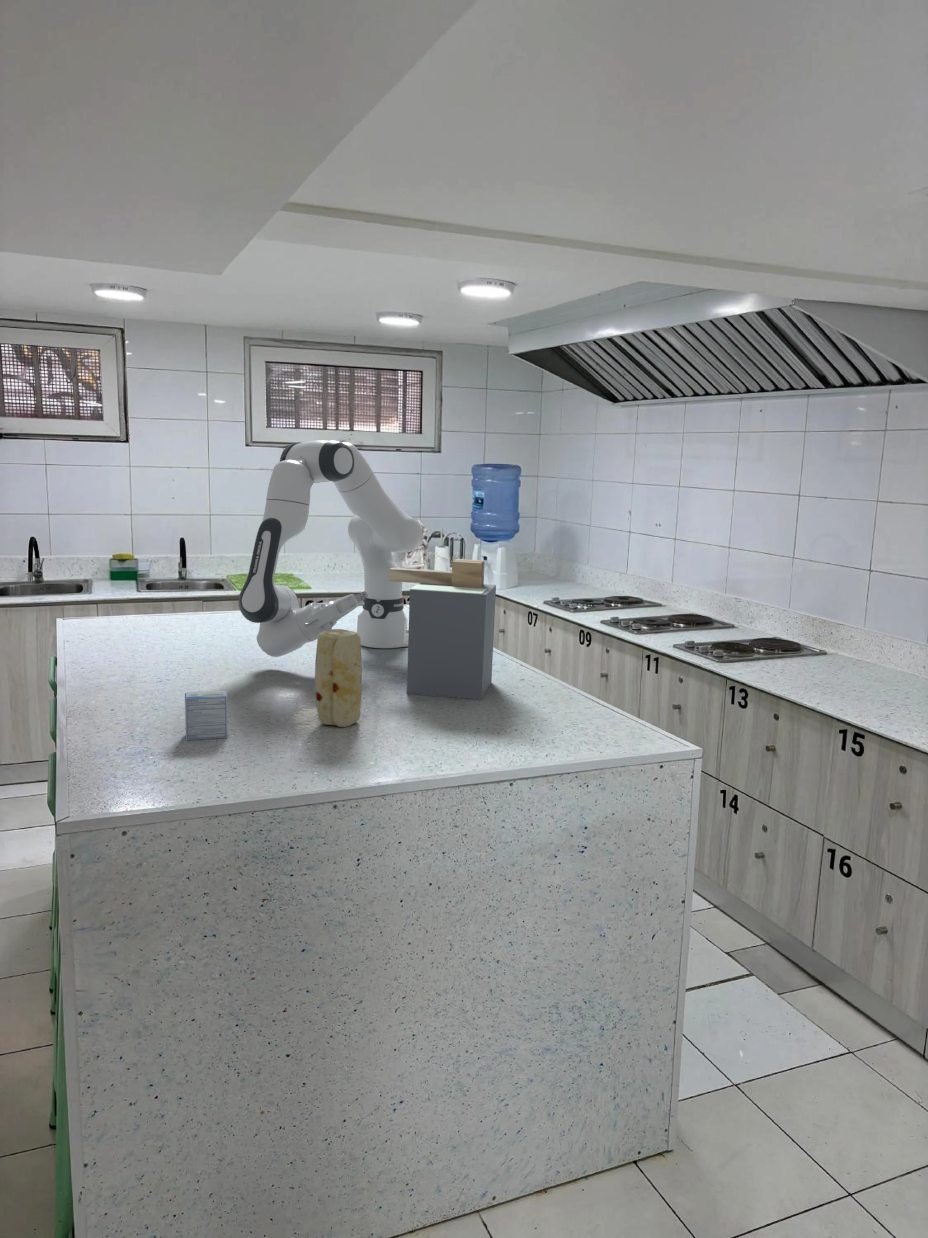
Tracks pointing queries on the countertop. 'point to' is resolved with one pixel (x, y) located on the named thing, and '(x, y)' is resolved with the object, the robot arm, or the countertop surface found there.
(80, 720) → the countertop surface
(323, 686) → the food model
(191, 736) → the medicine box
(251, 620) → the robot arm
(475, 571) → the mallet
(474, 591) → the stand
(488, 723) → the countertop surface
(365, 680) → the countertop surface
